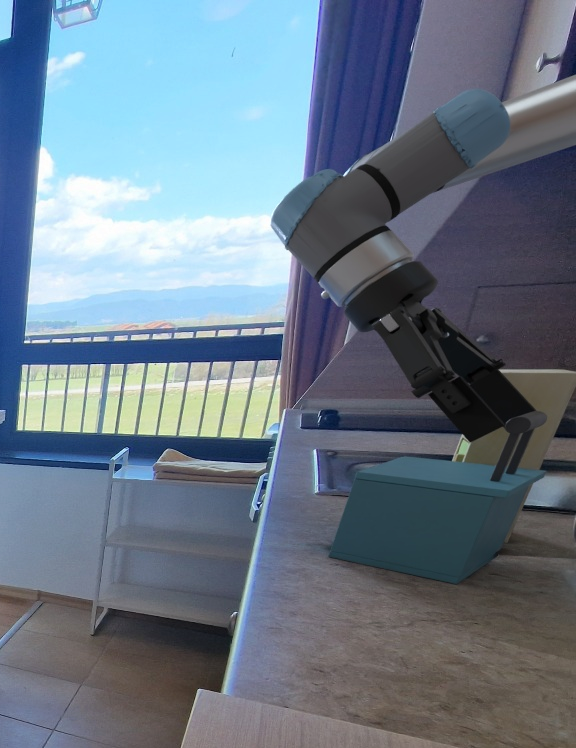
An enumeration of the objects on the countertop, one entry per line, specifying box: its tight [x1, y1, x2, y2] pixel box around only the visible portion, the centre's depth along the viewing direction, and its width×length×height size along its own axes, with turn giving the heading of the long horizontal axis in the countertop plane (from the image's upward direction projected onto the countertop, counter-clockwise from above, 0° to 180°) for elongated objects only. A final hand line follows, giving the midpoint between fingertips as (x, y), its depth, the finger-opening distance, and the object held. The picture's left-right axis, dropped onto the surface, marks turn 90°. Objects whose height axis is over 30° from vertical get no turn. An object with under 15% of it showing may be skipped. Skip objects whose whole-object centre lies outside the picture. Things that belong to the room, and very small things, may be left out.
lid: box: [354, 411, 547, 498], centre depth 71 cm, size 12×16×8 cm
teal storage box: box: [328, 478, 529, 585], centre depth 75 cm, size 12×16×10 cm
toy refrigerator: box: [451, 369, 576, 544], centre depth 79 cm, size 8×7×21 cm
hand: (506, 428), depth 68 cm, fingers open, 13 cm apart
